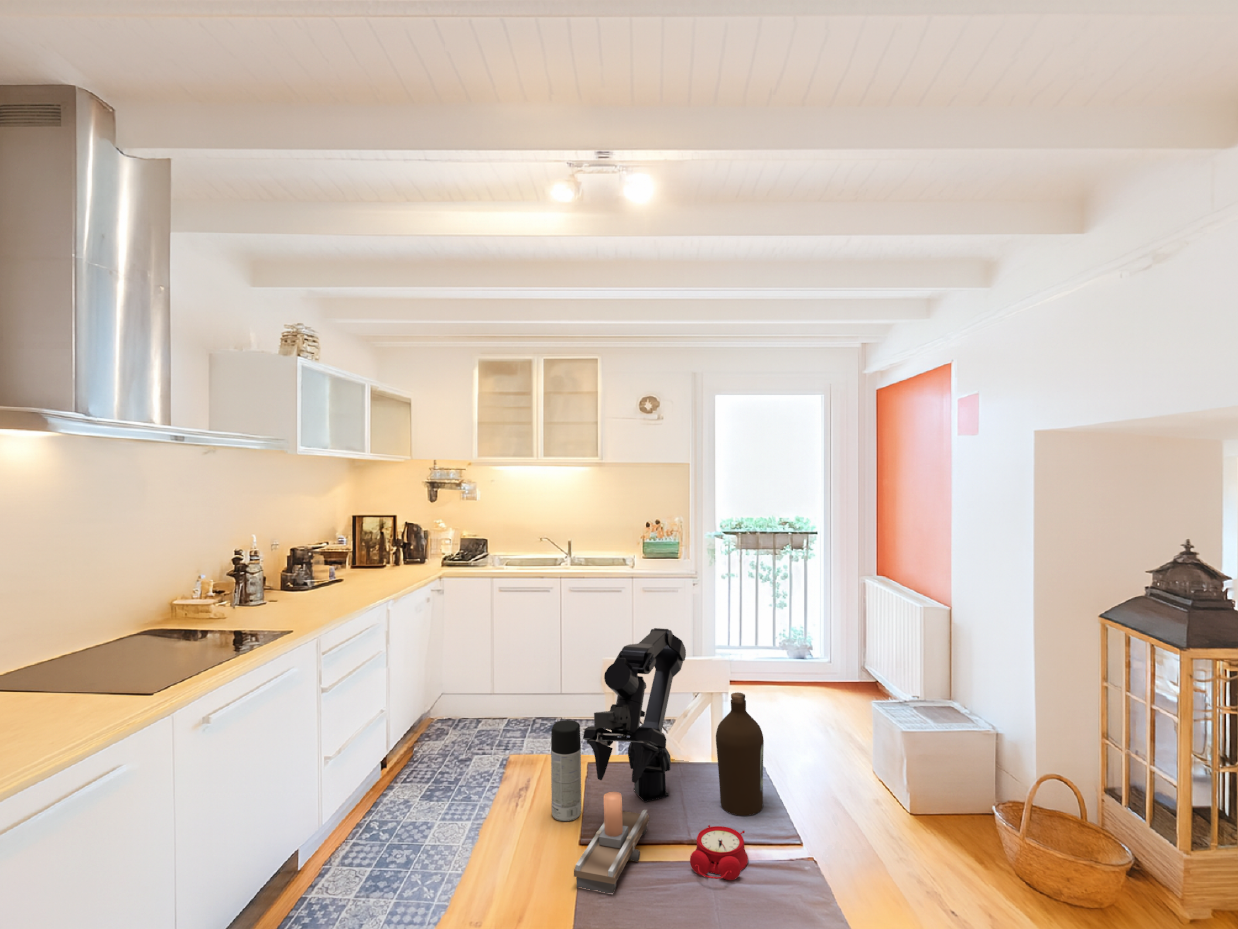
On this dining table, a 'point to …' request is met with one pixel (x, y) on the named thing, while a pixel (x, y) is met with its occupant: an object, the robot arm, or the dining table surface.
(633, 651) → the robot arm
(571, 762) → the spray can
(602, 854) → the brown piece
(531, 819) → the dining table surface
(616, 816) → the rider
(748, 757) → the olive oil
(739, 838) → the alarm clock
